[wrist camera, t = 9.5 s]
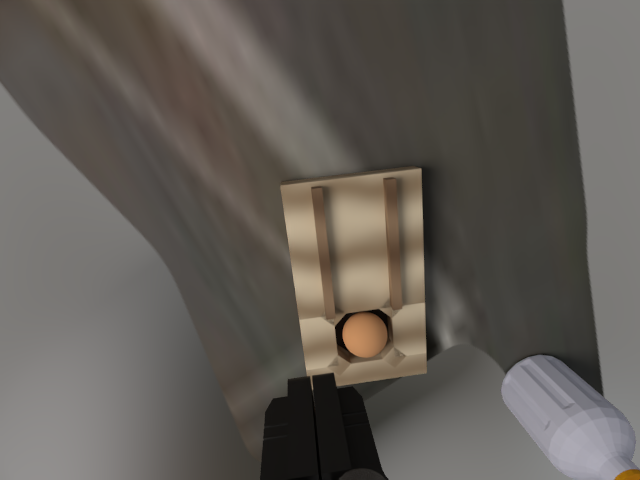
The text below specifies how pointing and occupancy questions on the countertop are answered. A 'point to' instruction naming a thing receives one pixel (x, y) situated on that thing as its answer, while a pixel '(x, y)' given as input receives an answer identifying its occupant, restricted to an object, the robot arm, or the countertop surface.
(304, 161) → the countertop surface
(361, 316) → the ball
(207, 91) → the countertop surface
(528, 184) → the countertop surface
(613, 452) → the soap bottle
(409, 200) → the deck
